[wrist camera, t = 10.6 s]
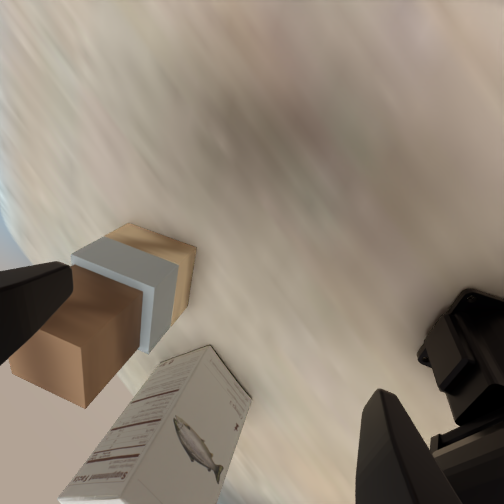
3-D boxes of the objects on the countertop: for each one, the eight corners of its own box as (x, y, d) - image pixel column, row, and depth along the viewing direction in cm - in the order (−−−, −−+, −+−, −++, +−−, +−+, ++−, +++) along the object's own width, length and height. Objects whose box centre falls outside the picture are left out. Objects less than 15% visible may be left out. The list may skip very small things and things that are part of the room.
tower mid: (178, 264, 21) (154, 287, 18) (170, 326, 24) (148, 354, 21) (104, 236, 22) (70, 254, 19) (104, 299, 25) (76, 322, 22)
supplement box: (255, 399, 29) (197, 578, 18) (199, 410, 32) (122, 567, 21) (211, 341, 27) (118, 500, 16) (157, 360, 31) (51, 502, 20)
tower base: (197, 246, 23) (178, 264, 21) (188, 304, 26) (171, 326, 24) (130, 221, 24) (104, 236, 22) (128, 281, 27) (105, 299, 25)
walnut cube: (143, 291, 19) (80, 347, 14) (139, 346, 21) (85, 408, 17) (74, 264, 19) (-4, 309, 15) (79, 320, 22) (12, 373, 18)
